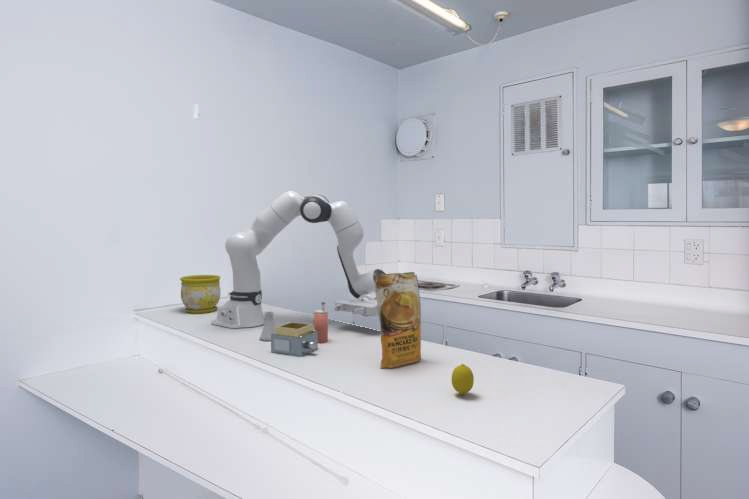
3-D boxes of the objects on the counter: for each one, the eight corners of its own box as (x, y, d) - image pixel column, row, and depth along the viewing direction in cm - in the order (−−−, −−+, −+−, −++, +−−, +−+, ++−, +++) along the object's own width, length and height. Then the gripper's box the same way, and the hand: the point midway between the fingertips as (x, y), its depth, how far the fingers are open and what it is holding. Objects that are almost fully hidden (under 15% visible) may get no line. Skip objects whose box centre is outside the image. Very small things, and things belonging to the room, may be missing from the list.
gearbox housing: (270, 352, 156) (270, 327, 156) (288, 344, 166) (288, 321, 165) (309, 358, 150) (309, 331, 150) (325, 349, 160) (325, 325, 159)
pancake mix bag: (367, 365, 143) (368, 274, 141) (415, 355, 154) (415, 270, 152) (381, 371, 137) (382, 276, 135) (429, 360, 149) (430, 272, 147)
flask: (274, 342, 169) (274, 314, 169) (255, 340, 171) (255, 313, 170) (282, 337, 177) (282, 310, 176) (264, 336, 178) (264, 310, 177)
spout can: (311, 342, 169) (311, 302, 168) (318, 339, 174) (318, 300, 173) (323, 343, 167) (323, 303, 166) (330, 340, 172) (330, 301, 171)
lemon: (477, 394, 120) (478, 363, 119) (466, 400, 116) (466, 368, 115) (458, 389, 123) (459, 359, 123) (447, 395, 119) (447, 364, 119)
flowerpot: (228, 308, 231) (228, 275, 230) (204, 316, 213) (204, 280, 212) (197, 306, 236) (197, 274, 235) (172, 313, 219) (171, 278, 218)
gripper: (348, 294, 196) (324, 299, 186) (387, 299, 184) (364, 304, 173) (348, 309, 197) (325, 315, 186) (387, 315, 184) (364, 321, 173)
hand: (344, 310), depth 179 cm, fingers open, 8 cm apart
